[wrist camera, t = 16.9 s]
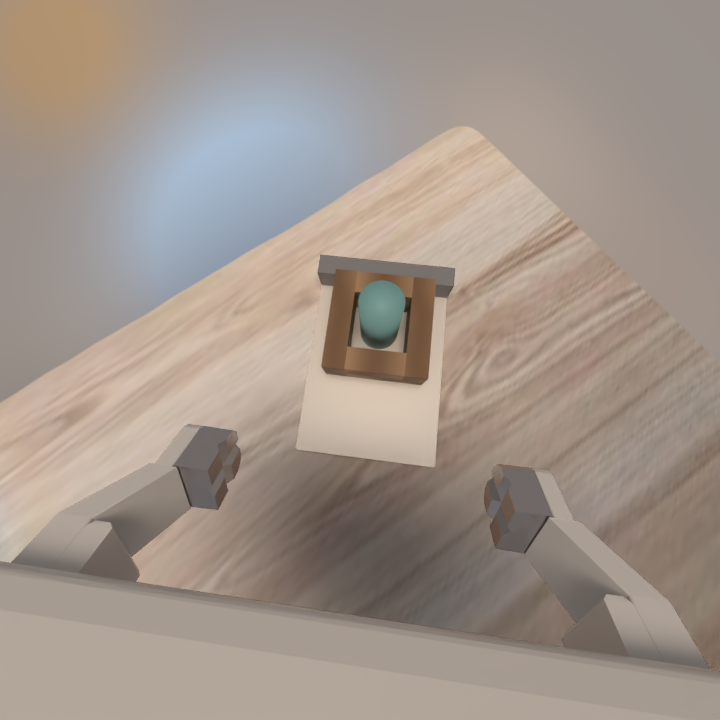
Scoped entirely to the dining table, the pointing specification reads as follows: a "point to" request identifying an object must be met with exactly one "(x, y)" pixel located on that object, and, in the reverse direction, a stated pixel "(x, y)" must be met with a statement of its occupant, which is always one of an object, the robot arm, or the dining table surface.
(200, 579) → the dining table surface
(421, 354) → the socket block
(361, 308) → the teal rounded peg
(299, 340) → the dining table surface
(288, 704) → the robot arm
